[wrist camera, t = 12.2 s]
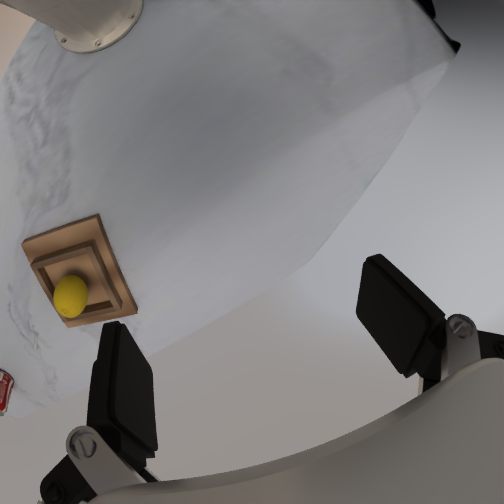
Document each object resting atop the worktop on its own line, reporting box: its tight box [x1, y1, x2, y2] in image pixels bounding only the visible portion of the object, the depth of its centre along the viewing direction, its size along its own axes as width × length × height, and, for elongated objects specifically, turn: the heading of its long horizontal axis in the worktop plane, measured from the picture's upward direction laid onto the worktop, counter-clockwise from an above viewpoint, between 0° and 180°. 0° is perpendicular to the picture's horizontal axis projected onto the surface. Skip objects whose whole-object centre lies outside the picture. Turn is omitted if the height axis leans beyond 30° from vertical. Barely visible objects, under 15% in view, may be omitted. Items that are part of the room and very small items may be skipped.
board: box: [21, 214, 138, 328], centre depth 37 cm, size 18×15×4 cm
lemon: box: [53, 275, 88, 318], centre depth 34 cm, size 6×6×8 cm
